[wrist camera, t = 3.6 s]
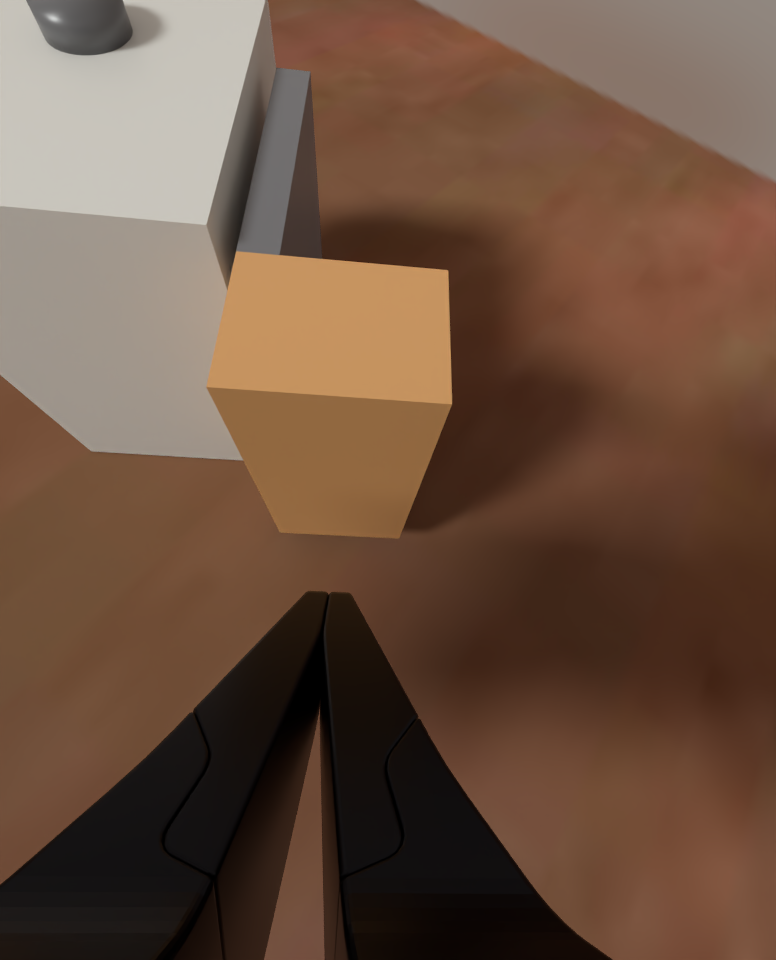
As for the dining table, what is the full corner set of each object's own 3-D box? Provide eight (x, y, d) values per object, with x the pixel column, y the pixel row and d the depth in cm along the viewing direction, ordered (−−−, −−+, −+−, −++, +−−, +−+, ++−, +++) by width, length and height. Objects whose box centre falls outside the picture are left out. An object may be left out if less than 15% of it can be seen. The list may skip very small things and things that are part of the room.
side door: (398, 538, 15) (451, 404, 7) (279, 532, 15) (206, 386, 7) (403, 328, 19) (442, 86, 11) (306, 320, 19) (276, 67, 11)
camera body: (284, 463, 17) (200, 192, 7) (91, 451, 17) (-272, 146, 7) (310, 269, 21) (276, -78, 11) (153, 255, 20) (-25, -119, 11)
